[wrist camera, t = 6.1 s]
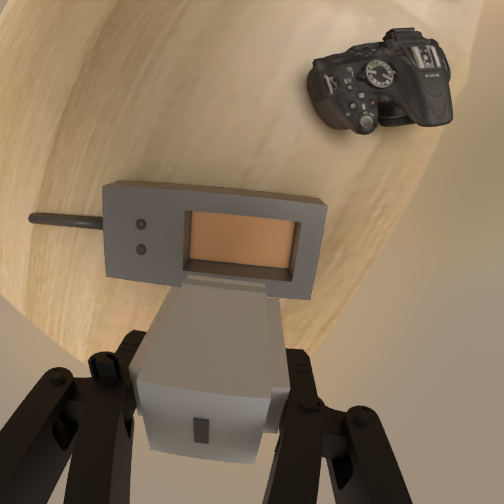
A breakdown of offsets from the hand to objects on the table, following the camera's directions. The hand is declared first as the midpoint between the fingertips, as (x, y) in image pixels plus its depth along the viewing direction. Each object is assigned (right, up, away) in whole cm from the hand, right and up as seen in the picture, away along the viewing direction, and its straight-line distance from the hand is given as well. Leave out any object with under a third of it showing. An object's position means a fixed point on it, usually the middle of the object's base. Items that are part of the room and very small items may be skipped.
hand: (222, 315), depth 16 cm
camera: (+13, +19, +9) cm, 25 cm away
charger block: (0, 0, 0) cm, 0 cm away
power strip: (-9, +6, +14) cm, 17 cm away
